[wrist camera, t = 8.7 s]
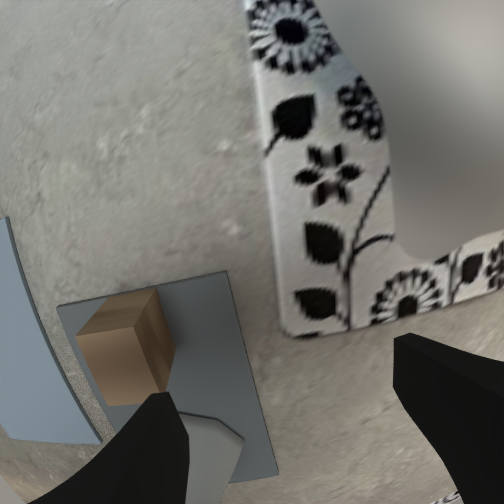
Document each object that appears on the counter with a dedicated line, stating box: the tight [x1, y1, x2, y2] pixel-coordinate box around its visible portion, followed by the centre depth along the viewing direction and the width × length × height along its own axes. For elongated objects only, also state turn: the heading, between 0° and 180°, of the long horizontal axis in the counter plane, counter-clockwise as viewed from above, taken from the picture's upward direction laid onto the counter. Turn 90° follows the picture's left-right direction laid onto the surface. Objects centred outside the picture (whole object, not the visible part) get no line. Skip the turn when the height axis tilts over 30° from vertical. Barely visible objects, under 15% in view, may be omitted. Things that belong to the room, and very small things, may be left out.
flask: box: [179, 414, 245, 504], centre depth 15 cm, size 7×7×10 cm
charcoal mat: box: [56, 271, 279, 484], centre depth 17 cm, size 18×11×5 cm, turn 12°
